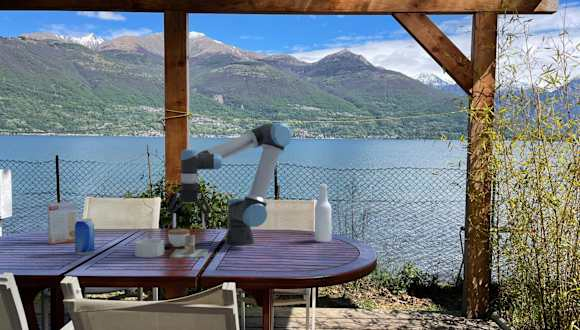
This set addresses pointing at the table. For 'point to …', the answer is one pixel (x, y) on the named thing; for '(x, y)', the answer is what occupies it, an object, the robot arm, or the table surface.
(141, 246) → the bowl
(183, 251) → the lid
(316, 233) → the alcohol
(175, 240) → the lidded jar
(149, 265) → the table surface
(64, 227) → the cracker box
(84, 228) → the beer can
